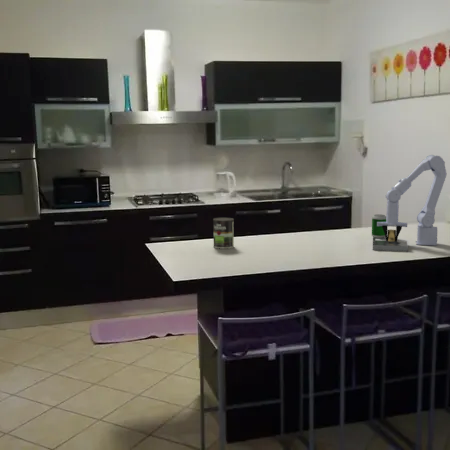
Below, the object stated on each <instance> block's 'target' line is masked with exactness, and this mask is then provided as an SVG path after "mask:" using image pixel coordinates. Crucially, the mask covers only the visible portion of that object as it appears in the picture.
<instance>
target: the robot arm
mask: <svg viewBox="0 0 450 450" xmlns="http://www.w3.org/2000/svg"><path fill="white" fill-rule="evenodd" d="M429 170H431V172H432V174H433V175H434V176H433V179H432V182H431V186H430V189H429V191H428V195H427V197H426V200H425V203H424V206H423V207H422V208H421V210H420V211H419V212H418V214H417V216H416V221H417V223H418V224H417V232H416V233H417V234H416V240H415V244H416V246H417V245H419V246H438V226H434V224H435V215H436V207H437V204H438V201H439V198H440V195H441V193H442V189H443V186H444V183H445V181H446V178H447V169H446V162H445V161H444V159H443V157H442V156H440V155H434V154H429V155H427V156H426V157H425V158H424V159H422V161H421V162H420V163H418V165H417V166H416V167H415V168H414V169H413V170H412V171H411V172H410V174H409V175H408V176H406V177H403V178H399V179H398V180H397V182H396V184H395V185H394V186H391V189H389V190H388V191H387V192H386V195H385V198H386V200H387V201H386V215H385V216H386V222H377V226H382V228H383V231H384V233H385V241H387V235H388V227H393V228H394V227H395V230H396V241H398V238H399V235H400V233H401V231H402V229H403V228H408V222H400V221H399V206H400V204H399V201H400V200H401V197H402V196H403V195H404V194H405V193H406V192H407V190H409V189H410V188H411V187H412V183H413V181H414V180H416V179H417V178H419V176H420V175H421V174H423V172H426V171H429Z"/></svg>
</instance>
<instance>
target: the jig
mask: <svg viewBox="0 0 450 450" xmlns="http://www.w3.org/2000/svg"><path fill="white" fill-rule="evenodd" d="M408 250H409V245H408V241H405V240H397V241H386V240H381V239H380V240H378V239H376V238H375V237H373V236H372V251H383V252H384V251H385V252H386V251H389V252H390V251H391V252H408Z"/></svg>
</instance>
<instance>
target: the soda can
mask: <svg viewBox="0 0 450 450" xmlns="http://www.w3.org/2000/svg"><path fill="white" fill-rule="evenodd" d="M371 217H372V218H371V237H372V238H373V237H375V239H376V240H378V239H380V240H381V239H386V237H385V233H384V231H383V228H382V226H377V222H386V215H385V214H373V216H371Z"/></svg>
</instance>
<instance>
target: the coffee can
mask: <svg viewBox="0 0 450 450" xmlns="http://www.w3.org/2000/svg"><path fill="white" fill-rule="evenodd" d="M234 220H235V218H233V217H213V219H212V222H213V225H212V226H213V248H214V249H219V248H220V249H221V250H226V249H227V248H228V249H232V248H234V246H235V245H234V244H235V241H234V238H235V237H234V235H235V234H234V230H235V229H234V224H235V223H234ZM220 249H219V250H220Z"/></svg>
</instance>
